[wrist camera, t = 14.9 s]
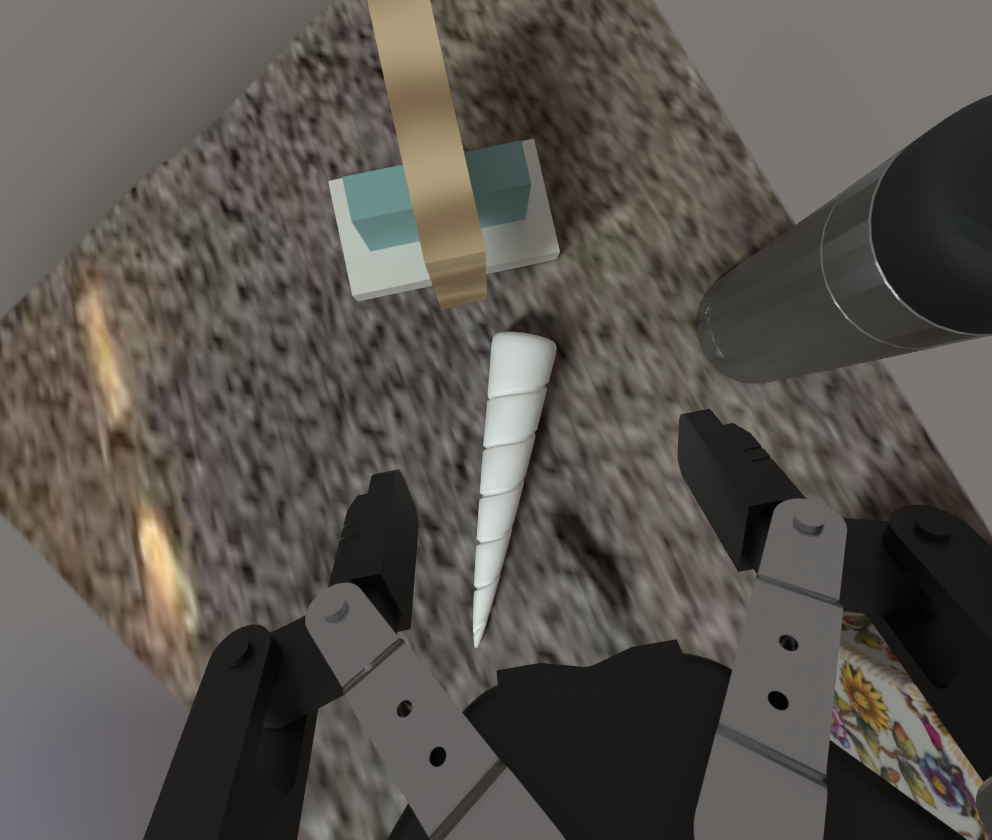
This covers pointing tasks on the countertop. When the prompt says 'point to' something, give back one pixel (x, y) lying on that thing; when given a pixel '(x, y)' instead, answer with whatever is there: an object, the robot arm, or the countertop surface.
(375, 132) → the countertop surface
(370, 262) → the ridge stand
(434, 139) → the wooden beam
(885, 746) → the decorative jar
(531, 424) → the unicorn horn
